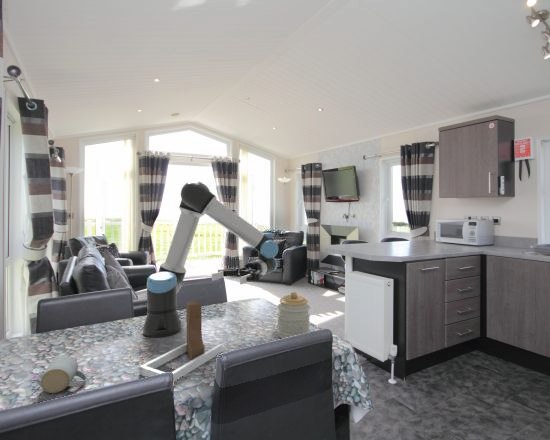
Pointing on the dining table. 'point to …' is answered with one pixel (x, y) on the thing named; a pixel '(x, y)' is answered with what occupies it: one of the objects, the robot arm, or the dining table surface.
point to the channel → (150, 367)
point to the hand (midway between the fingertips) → (226, 279)
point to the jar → (293, 316)
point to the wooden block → (194, 330)
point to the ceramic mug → (61, 375)
